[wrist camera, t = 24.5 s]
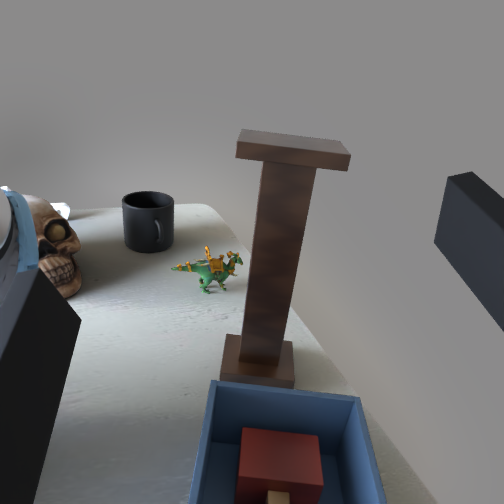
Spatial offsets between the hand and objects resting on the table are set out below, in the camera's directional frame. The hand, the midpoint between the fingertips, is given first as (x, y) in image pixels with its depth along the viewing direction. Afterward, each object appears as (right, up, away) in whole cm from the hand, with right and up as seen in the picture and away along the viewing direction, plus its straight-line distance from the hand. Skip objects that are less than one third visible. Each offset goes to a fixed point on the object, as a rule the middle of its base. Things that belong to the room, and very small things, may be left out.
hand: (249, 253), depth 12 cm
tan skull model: (-35, -4, +48) cm, 60 cm away
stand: (+1, -15, +36) cm, 39 cm away
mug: (-20, +1, +61) cm, 64 cm away
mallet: (+2, -23, +18) cm, 29 cm away
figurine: (-7, -6, +49) cm, 50 cm away
